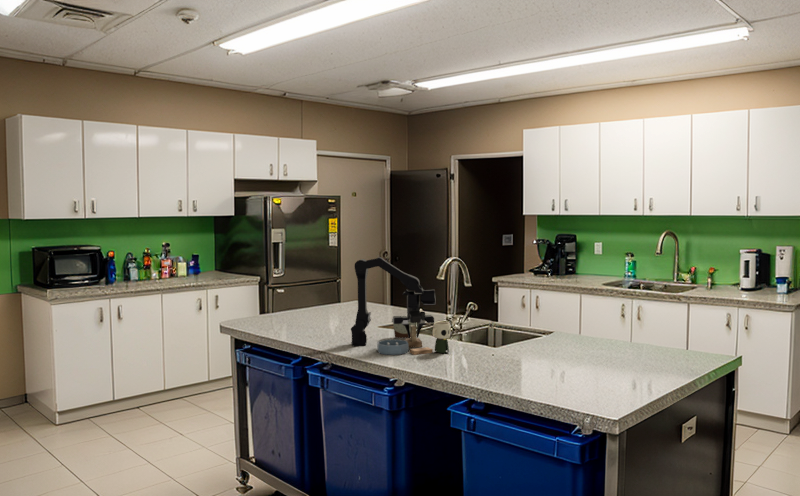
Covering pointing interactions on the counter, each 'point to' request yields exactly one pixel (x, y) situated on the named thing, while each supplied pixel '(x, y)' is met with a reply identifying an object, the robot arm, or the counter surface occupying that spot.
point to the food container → (401, 329)
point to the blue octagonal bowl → (392, 347)
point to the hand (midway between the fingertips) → (413, 337)
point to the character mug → (441, 336)
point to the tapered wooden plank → (421, 351)
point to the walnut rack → (414, 343)
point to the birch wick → (413, 333)
